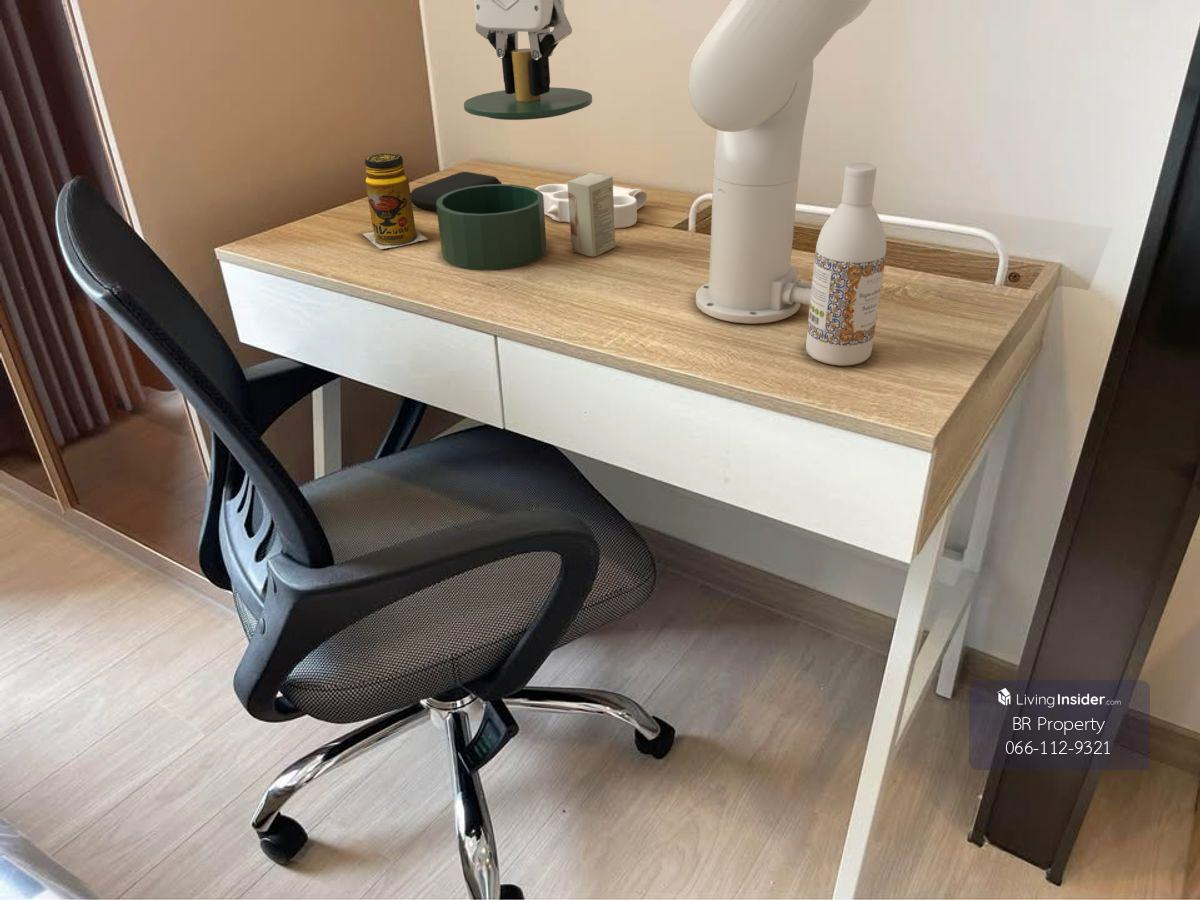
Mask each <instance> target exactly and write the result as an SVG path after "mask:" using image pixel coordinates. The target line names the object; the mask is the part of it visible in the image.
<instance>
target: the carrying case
mask: <svg viewBox="0 0 1200 900" xmlns="http://www.w3.org/2000/svg"><path fill="white" fill-rule="evenodd" d="M489 184H503V183H502V182H501V180H499V178H498V177H496V176H493V175H487V174H482V173H476V172H470V171H460V172H457V173H454V174H451V175H449V176H448V175H447V176H446V177H442V178H439V179H437V180H433V181H431V182H429V183H425V184H423V185H420V186H417V187H415V188H413V189H412V190H411V191H410V195H411V202H412V206H415V207H417V208H421V209H424V210H430V211H434V212H437V207H436V203H437V199H439V198H440V197H441V196H442V195H444V194H446V193H449V192H451V191H454V190H457V189H461V188H466V187H471V186H478V185H489Z"/></svg>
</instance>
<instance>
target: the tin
mask: <svg viewBox="0 0 1200 900" xmlns="http://www.w3.org/2000/svg"><path fill="white" fill-rule="evenodd" d="M436 207H437V211H436V215H437V222H438V231H439V240H440V248H441V254H442V258H443V260H444V261H445V262H446V263H448V264H449V265H451V266H455V267H458V268H461V269H467V270H474V271H475V270H476V271H497V270H506V269H513V268H517V267H522V266H525V265H528V264H531V263H533V262H535V261H538V260H539V259H541V258H542V257H543V256H544V255H545V254H546V253H547V237H546V236H547V235H546V219H545V218H546V217H545V216H546V215H544V199H543V194H542V193H541V192H539V191H538V190H536V189H535V188H532V187H529V186H526V185H525V186H524V185H520V184H519V185H518V184H510V183H507V184H506V183H502V184H489V185H478V186H471V187H466V188H461V189H457V190H454V191H451V192H449V193H446V194H444V195H442V196H441V197H440V198H439V199H437V203H436Z"/></svg>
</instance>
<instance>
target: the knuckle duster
mask: <svg viewBox="0 0 1200 900" xmlns="http://www.w3.org/2000/svg"><path fill="white" fill-rule="evenodd" d="M534 189H536V190H538V191H539V192H541V193H542V194H543V199H544V216H548V217H550V218H551V220H553V221H555V222H559V223H569V224H570V214H569V199H568V185H567V183H547V184H542V185H539V186H537V187H535V188H534ZM613 199H614V224H615V229H625V228H630V227H632V226H634V225H636V223H637V222H638V210H639V209H640V208H642V207H643V206H644V205H645V203H646V202H647V200H648V194H647V192H646V191H644V190H643V189H641V188H628V187H623V186H619V185H615V184H613Z"/></svg>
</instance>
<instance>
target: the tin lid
mask: <svg viewBox="0 0 1200 900" xmlns="http://www.w3.org/2000/svg"><path fill="white" fill-rule="evenodd" d="M531 59H532V55H531V49H530V48H518V49H516V50H513V51H512V63H513V74H514V86H515V93H513V94H506V92H505V89H503V90H496V91H491V92H487V93H483V94H478V95H475V96H473V97H470V98H468V99H466V100H465V101H464V103H463V109H464V111H465V112H466V113H468V114H470V115H474V116H477V117H484V118H489V119H494V120H503V121H504V120H505V121H525V120H526V121H527V120H541V119H548V118H554V117H559V116H563V115H567V114H569V113H573V112H576V111H580V110H582V109H585V108H587V107H589V106H590V105H591V104H592V103H593V95H592V93H590V92H588V91H585V90H583V89H577V88H570V87H569V88H568V87H553V86H551V87H550V90H549V92H548V93H544V94H541V95H538V96H532V95H531V93H530V83H529V71H528V60H531Z"/></svg>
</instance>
